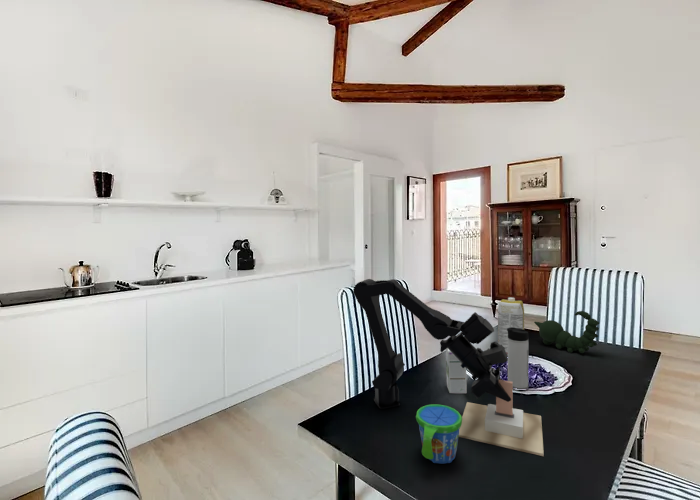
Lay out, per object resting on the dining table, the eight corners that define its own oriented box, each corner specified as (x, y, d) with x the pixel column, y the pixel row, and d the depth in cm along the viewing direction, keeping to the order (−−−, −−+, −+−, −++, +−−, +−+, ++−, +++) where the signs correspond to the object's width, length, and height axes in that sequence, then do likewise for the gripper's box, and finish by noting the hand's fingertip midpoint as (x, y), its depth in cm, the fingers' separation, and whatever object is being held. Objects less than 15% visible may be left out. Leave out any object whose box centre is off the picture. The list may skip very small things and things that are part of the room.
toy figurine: (598, 357, 145) (538, 337, 165) (604, 313, 142) (542, 297, 162) (587, 363, 139) (526, 341, 160) (593, 317, 137) (530, 300, 157)
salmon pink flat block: (496, 412, 96) (495, 381, 95) (496, 410, 97) (496, 379, 96) (512, 416, 94) (512, 383, 93) (512, 413, 95) (512, 381, 95)
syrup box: (467, 393, 115) (466, 350, 114) (448, 393, 116) (447, 350, 115) (463, 385, 121) (462, 344, 120) (445, 385, 121) (445, 344, 120)
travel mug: (503, 383, 121) (502, 326, 120) (521, 382, 122) (521, 325, 120) (513, 392, 115) (512, 331, 114) (532, 390, 116) (532, 330, 114)
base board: (456, 436, 93) (456, 434, 93) (467, 403, 109) (467, 402, 109) (543, 456, 84) (543, 453, 84) (541, 417, 100) (541, 415, 100)
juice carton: (524, 354, 146) (524, 297, 144) (522, 361, 139) (522, 301, 138) (500, 351, 151) (500, 295, 149) (497, 357, 144) (496, 299, 143)
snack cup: (434, 432, 95) (433, 395, 94) (473, 447, 88) (472, 407, 87) (403, 463, 83) (402, 421, 82) (445, 483, 76) (444, 438, 76)
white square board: (484, 430, 94) (484, 419, 94) (488, 413, 102) (488, 403, 102) (522, 438, 90) (522, 426, 90) (523, 420, 98) (523, 409, 98)
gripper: (484, 347, 87) (534, 399, 83) (491, 326, 104) (533, 368, 100) (452, 373, 92) (498, 423, 87) (463, 349, 108) (503, 390, 104)
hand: (510, 399), depth 95 cm, fingers closed on salmon pink flat block
